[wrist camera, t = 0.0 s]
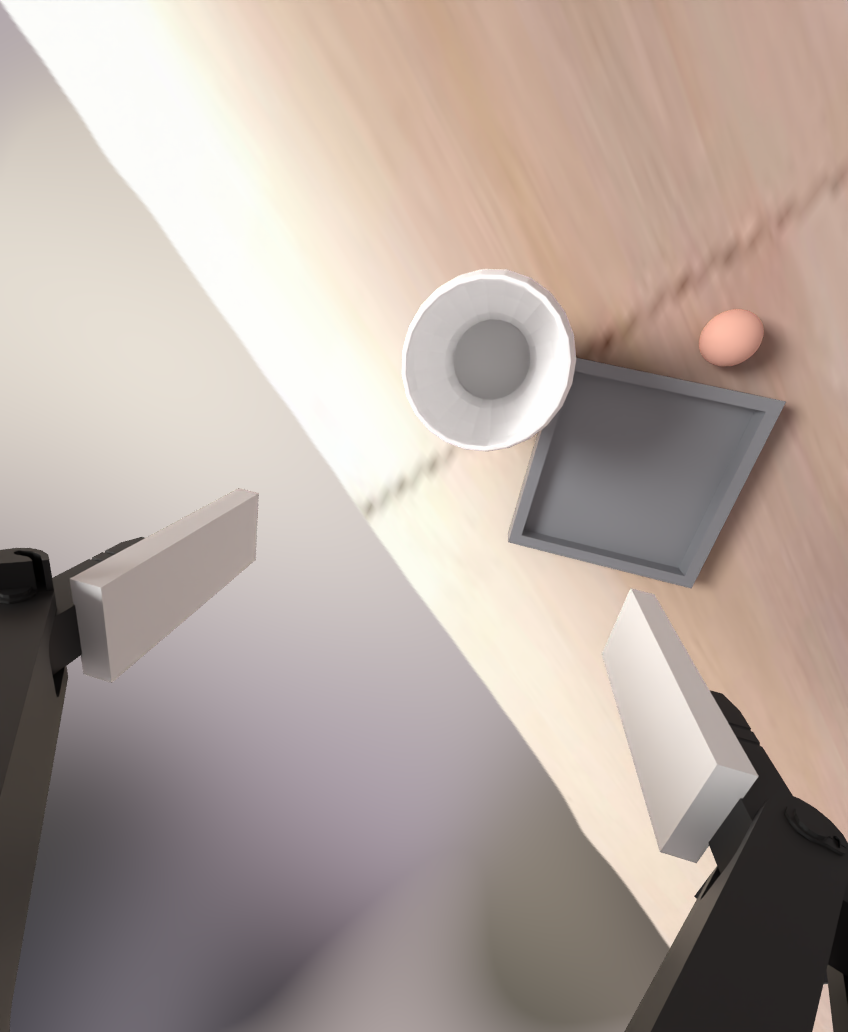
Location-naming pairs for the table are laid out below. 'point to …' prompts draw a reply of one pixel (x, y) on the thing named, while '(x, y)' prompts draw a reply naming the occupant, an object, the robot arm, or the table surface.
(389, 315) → the table surface
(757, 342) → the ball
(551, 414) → the cup
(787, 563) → the table surface
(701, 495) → the tray
